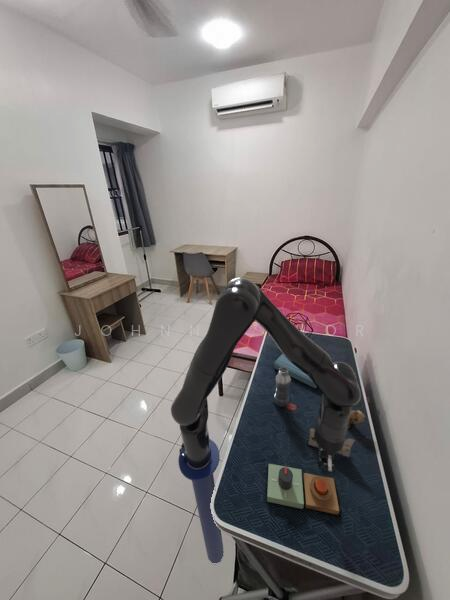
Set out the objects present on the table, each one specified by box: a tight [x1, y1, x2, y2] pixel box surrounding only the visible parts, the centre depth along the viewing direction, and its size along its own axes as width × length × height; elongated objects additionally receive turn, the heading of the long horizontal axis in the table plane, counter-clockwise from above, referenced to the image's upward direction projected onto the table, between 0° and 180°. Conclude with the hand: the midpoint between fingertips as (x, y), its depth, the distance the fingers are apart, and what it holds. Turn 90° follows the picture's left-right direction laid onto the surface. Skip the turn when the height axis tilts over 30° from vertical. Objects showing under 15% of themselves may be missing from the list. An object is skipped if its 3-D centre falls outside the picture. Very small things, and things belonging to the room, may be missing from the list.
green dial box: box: [266, 463, 305, 510], centre depth 79 cm, size 11×10×3 cm
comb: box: [307, 427, 356, 458], centre depth 87 cm, size 15×2×10 cm, turn 70°
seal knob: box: [278, 466, 293, 490], centre depth 77 cm, size 4×4×5 cm
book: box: [273, 353, 318, 389], centre depth 126 cm, size 23×16×5 cm
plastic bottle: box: [273, 367, 292, 408], centre depth 105 cm, size 6×7×20 cm
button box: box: [302, 472, 340, 516], centre depth 76 cm, size 10×9×4 cm
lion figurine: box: [348, 409, 366, 429], centre depth 99 cm, size 15×5×9 cm, turn 36°
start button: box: [315, 479, 328, 495], centre depth 75 cm, size 4×4×2 cm
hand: (322, 465), depth 72 cm, fingers closed
